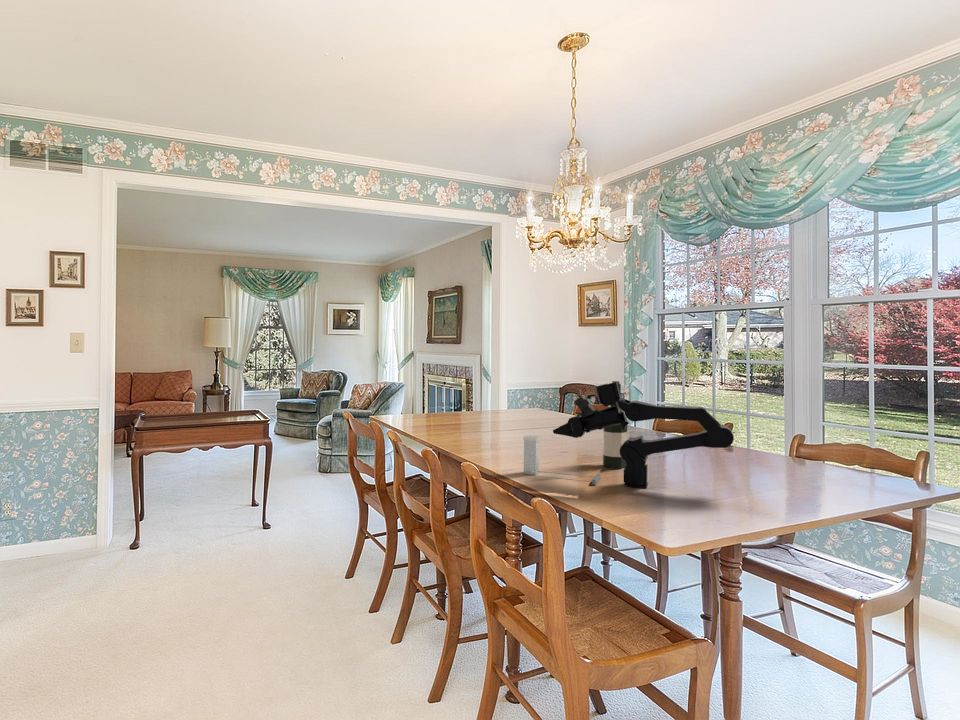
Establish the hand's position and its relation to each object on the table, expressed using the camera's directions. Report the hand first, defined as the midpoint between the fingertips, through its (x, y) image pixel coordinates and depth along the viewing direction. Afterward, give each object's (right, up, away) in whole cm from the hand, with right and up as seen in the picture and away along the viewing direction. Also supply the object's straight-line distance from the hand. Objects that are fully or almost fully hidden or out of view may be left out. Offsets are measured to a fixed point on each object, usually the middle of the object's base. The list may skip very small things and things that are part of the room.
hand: (556, 429), depth 178 cm
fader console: (+1, -15, -1) cm, 15 cm away
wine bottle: (+23, -15, +17) cm, 32 cm away
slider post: (-8, -14, +3) cm, 17 cm away
